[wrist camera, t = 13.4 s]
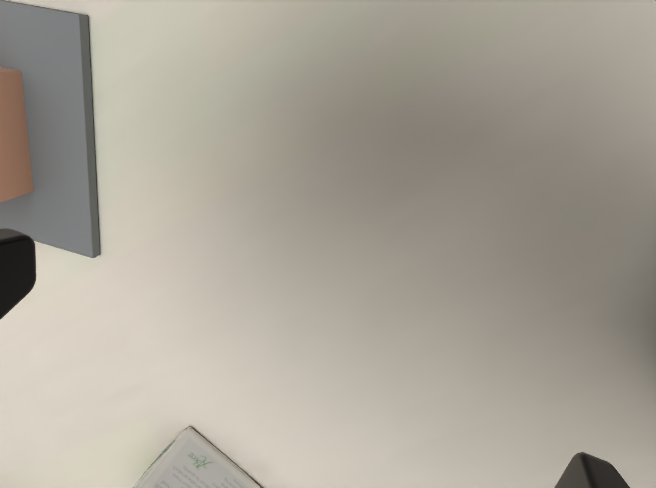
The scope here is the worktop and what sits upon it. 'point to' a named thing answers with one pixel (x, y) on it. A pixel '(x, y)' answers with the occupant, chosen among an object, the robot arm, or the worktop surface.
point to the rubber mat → (54, 126)
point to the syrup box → (194, 466)
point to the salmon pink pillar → (13, 138)
